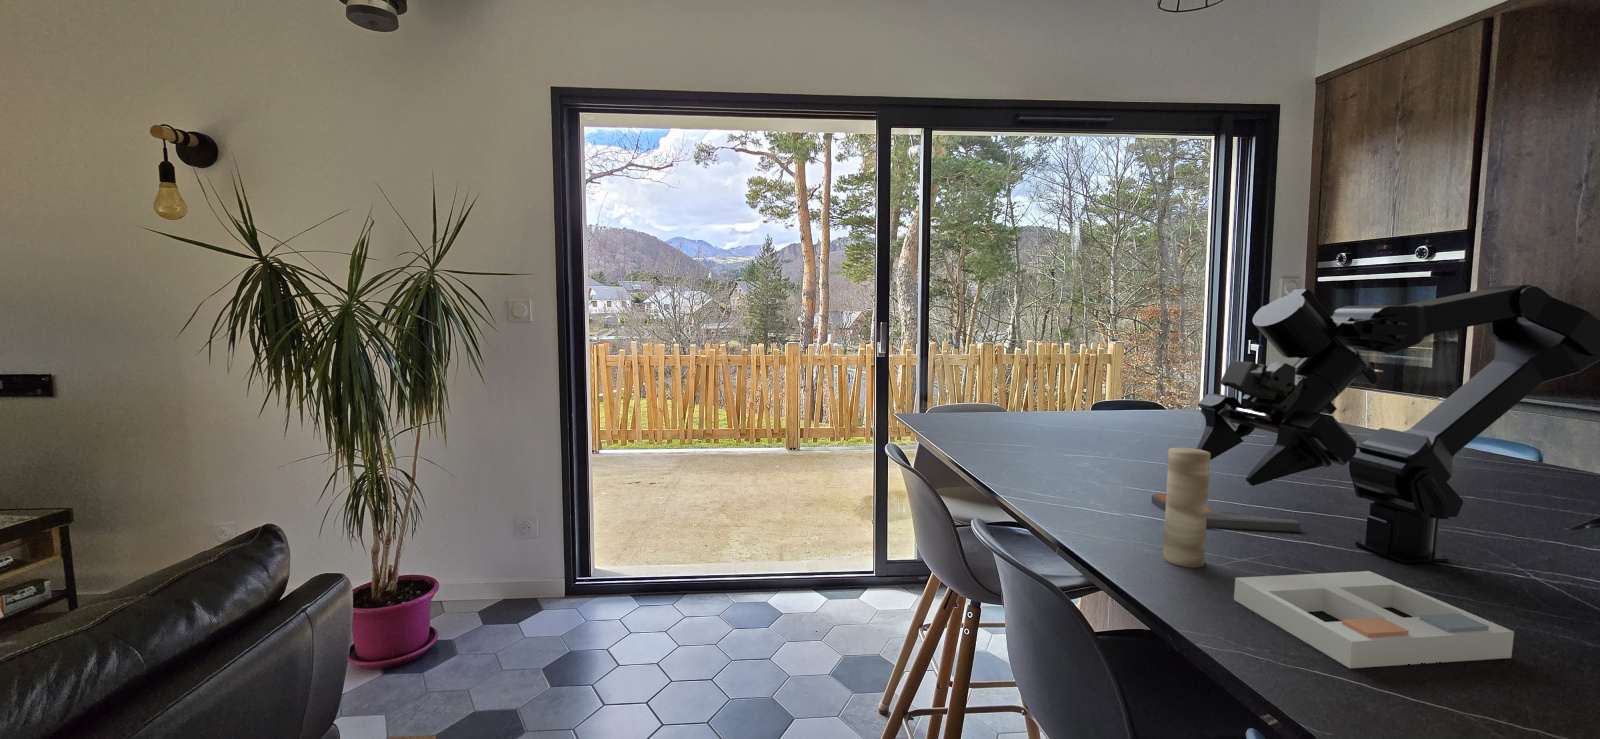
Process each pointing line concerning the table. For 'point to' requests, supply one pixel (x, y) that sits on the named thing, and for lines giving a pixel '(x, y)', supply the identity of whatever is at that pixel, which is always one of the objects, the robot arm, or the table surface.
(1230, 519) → the orange-tipped hinged bar
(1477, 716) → the table surface
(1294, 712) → the table surface
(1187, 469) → the plug
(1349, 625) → the socket board
